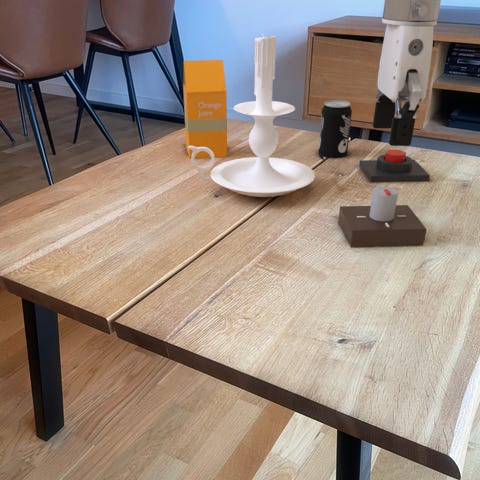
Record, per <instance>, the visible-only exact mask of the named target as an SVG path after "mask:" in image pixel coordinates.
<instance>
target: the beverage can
mask: <svg viewBox="0 0 480 480" xmlns="http://www.w3.org/2000/svg"><path fill="white" fill-rule="evenodd" d="M323 104H324V105H323V107H322V109H321V115H320V117H321V118H320V128H319V138H318V139H319V140H318V156H319V157H320V159H322V160H324V161H325V158H329V159H341V158H345V157H347V156H348V150H349V141H350V132H351V125H352V123H351V122H352V116H353V115H352V113H353V110H352V108H351V102H350V101H347V100H341V99H340V100H339V99H336V100H335V99H333V100H332V99H331V100H327V101H324V103H323Z"/></svg>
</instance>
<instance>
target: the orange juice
mask: <svg viewBox="0 0 480 480" xmlns="http://www.w3.org/2000/svg"><path fill="white" fill-rule="evenodd" d="M182 80H183V81H182V82H183V83H182V84H183V85H182V87H183V88H182V89H183V105H184V106H183V107H184V109H183V110H184V112H183V113H184V124H185V125H184V126H185V127H184V128H185V147H186V151H187V154H188V155H187V156H188V158H189V159H190V160H191V157H192V153H193V151H192V150H191V149H189V148H188V146H194V147H207V148H209V149H210V150H211V151H212V152H213V154H214V157H215V158H227V157H228V117H227V116H228V109H227V107H228V105H227V103H228V102H227V101H228V100H227V99H228V98H227V86H226V75H225V66H224V59H203V60H202V59H201V60H200V59H199V60H183V79H182ZM195 159H211V156H210V154H209V153H207V152H205V151H200V152H198V153H197V154H196V155H195Z"/></svg>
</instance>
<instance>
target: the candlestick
mask: <svg viewBox="0 0 480 480" xmlns="http://www.w3.org/2000/svg"><path fill="white" fill-rule="evenodd" d="M261 36H262V37H255V38H254V58H253V61H254V89H253V90H254V91H253V95H254V96H255V100H251V101H244V102H240V103H237V104H235V105H234V106H233V110H234V111H235V112H237V113H240V114H242V115H246V116H250V117H251V118H253V120H254V124H253V127H252V129H251V131H249V135H248V145H249V147H250V150H251V151H252V152H253V154H254V155H256V156H253V157H252V156H251V157H241V158H236V159H231V160H227V161H224V162H222V163H219V164H218V165H216V166H215V167H213V166H214V165H215V160H216V157H214V154H213V152H212V151H211V150H210V149H209V148H207V147H194V146H188V148H189V149H191V150H192V151H193V153H192V157H191V159H190V160H191V164H192V166H193V167H194V168H195V169H196V170H197V171H198V172H199V175H200V178H201V179H202V180H204V181H210V182H211V181H213V182H215V184H217V185H220V186H222V187H223V188H226V189H228V190H230V191H232V192H234V193H237V194H239V195H243V196H247V197H256V198H269V197H270V198H271V197H272V198H273V197H278V196H279V197H280V196H284V195H288V194H292V193H293V192H295V191H298V190H299V189H302V188H305V187H306V186H309V185H310V184H312V183H313V182H314V180H315V179H316V173H315V172H314V170H313V169H312V168H311V167H309V166H308V165H306V164H304V163H301V162H299V161H296V160H291V159H287V158H280V157H272V156H271V155H272V154H273V153H275V151H276V149H277V147H278V144H279V135H278V132H277V130H276V128H275V126H274V119H275V118H277V117H279V116H284V115H287V114H291V113H292V112H294V111H295V110H296V107H295V105H292V104H290V103H287V102H282V101H275V100H273V86H274V85H273V82H274V80H275V79H276V55H277V35H272V36H265V35H264V34H263V33H261ZM200 151H205V152H207V153H209V154H210V156H211V158H210V162H209V163H208V164H207V165H205V166H202V165H199V164H198V163H197V162H196V158H195V155H196V154H197V153H198V152H200ZM270 156H271V157H270ZM212 168H213V169H212ZM210 169H212V170H211V171H210V176H206V175H205V173H206V172H208V171H209V170H210Z"/></svg>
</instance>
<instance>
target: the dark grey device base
mask: <svg viewBox="0 0 480 480" xmlns="http://www.w3.org/2000/svg"><path fill="white" fill-rule="evenodd" d="M385 156H386V153H385V154H380V155H379V156H378V157H377V159H369V160H368V159H367V160H365V159H364V160H363V159H362V160H361V159H360V160H359V164H358V167H359V169H360V171H362V173H363V174H364V175H365V177H366V178H367V180H368V181H369V182H370V183H412V182H416V183H417V182H429V181H430V178H431V177H430V176H431V174H429V172H427V170H425V169H424V168H423V167H422V165H420V164H419V163H418V162H417V160H415V159H413V158H412V157H410V156H407V155H406V157H405V162H402V163H395V162H388V161H386V160H385Z"/></svg>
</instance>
